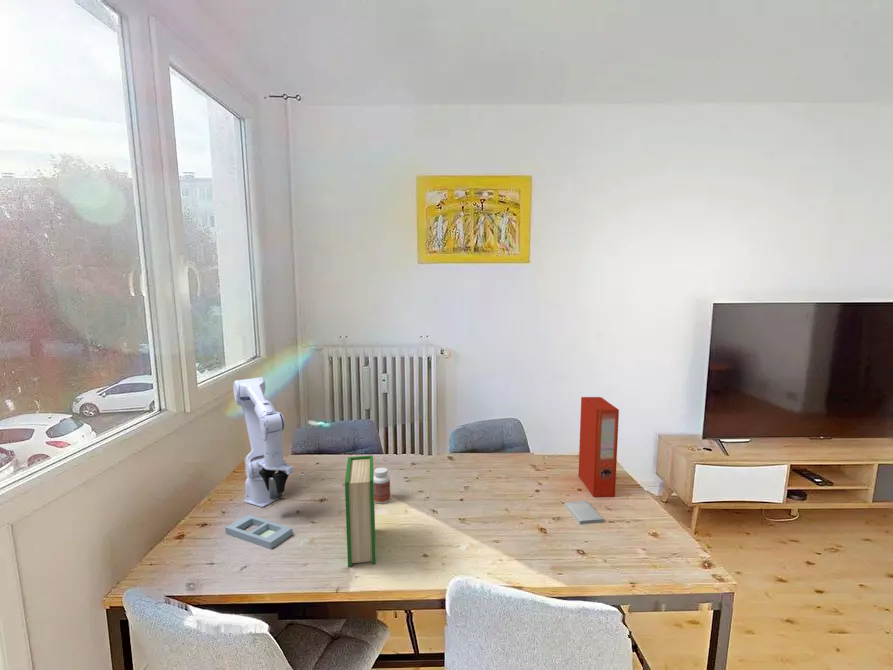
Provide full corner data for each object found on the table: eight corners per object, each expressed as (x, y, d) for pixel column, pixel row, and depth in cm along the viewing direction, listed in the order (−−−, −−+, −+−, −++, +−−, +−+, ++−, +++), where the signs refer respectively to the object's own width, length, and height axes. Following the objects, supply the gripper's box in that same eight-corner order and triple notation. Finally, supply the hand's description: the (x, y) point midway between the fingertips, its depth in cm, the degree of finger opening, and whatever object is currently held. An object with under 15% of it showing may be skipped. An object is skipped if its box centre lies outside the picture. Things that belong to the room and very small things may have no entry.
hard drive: (604, 519, 141) (586, 500, 153) (579, 521, 140) (564, 502, 152) (604, 524, 141) (586, 504, 153) (579, 526, 140) (564, 506, 152)
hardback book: (375, 564, 121) (373, 480, 118) (347, 567, 120) (344, 482, 117) (375, 529, 138) (372, 455, 135) (350, 531, 137) (348, 457, 134)
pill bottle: (393, 501, 156) (392, 471, 155) (377, 506, 153) (376, 475, 151) (385, 494, 161) (385, 465, 160) (370, 498, 158) (369, 469, 156)
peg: (266, 498, 144) (265, 477, 144) (276, 492, 148) (275, 472, 147) (275, 500, 143) (274, 479, 142) (285, 495, 146) (284, 474, 145)
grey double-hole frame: (225, 533, 136) (225, 527, 136) (248, 520, 144) (248, 514, 144) (270, 549, 128) (270, 542, 128) (292, 534, 136) (292, 528, 135)
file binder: (598, 476, 175) (601, 396, 171) (615, 497, 157) (618, 409, 154) (578, 476, 174) (580, 397, 171) (593, 497, 157) (595, 409, 154)
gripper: (299, 450, 144) (301, 490, 146) (267, 443, 150) (269, 481, 152) (282, 457, 138) (285, 499, 139) (249, 450, 144) (252, 490, 146)
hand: (275, 490), depth 145 cm, fingers closed on peg, 4 cm apart
